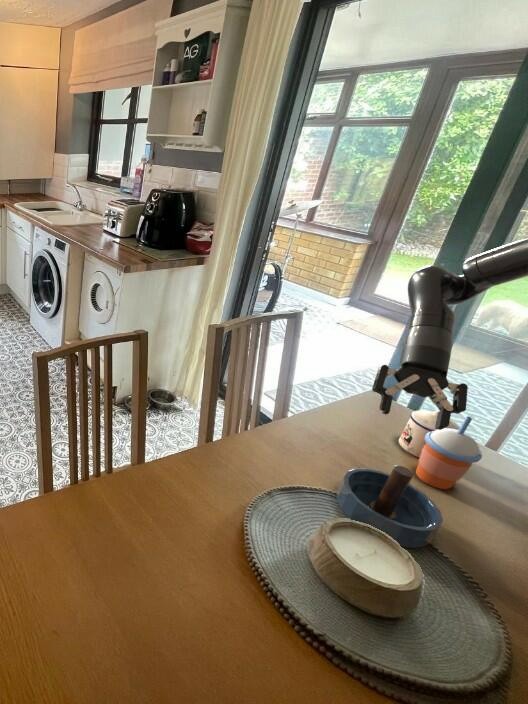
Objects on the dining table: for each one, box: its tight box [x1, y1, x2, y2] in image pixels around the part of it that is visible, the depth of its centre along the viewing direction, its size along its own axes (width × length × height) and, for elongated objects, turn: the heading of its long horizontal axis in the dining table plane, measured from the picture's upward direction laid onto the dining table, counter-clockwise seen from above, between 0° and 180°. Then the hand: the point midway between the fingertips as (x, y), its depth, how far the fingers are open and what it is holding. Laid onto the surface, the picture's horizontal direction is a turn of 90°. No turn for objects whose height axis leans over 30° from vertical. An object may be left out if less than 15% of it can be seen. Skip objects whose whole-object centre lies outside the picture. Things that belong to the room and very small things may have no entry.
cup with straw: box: [415, 416, 483, 490], centre depth 92 cm, size 9×9×18 cm
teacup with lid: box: [398, 409, 461, 458], centre depth 101 cm, size 12×9×12 cm
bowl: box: [336, 468, 444, 548], centre depth 86 cm, size 16×16×6 cm
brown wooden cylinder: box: [369, 464, 415, 521], centre depth 84 cm, size 4×4×12 cm
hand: (411, 420), depth 85 cm, fingers open, 8 cm apart
